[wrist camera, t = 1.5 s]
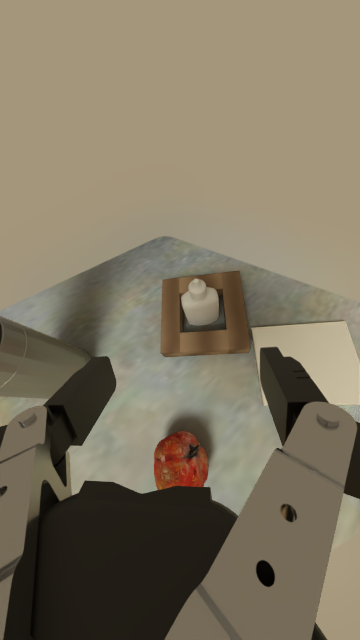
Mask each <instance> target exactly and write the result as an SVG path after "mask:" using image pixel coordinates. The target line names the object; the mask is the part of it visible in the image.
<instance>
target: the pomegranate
mask: <svg viewBox="0 0 360 640" xmlns="http://www.w3.org/2000/svg"><path fill="white" fill-rule="evenodd" d="M154 461H155V462H154V475H155V481H156V486H157V489H158V490H161V489H165V488H169V487H173V486H193V487H203V486H204V483H205V482H206V480H207V476H208V458H207V455H206V452H205V450H204V448H202V447H201V446H200V441H199V443H198V441H197V439H196V437H195V435H193V434H191V433H189V432H186V431H180V432H176V433H174V434H172V435H170V436H168V437H166V438H165V439H163V440H161V441H160V442H159V443H158V445H157V447H156V449H155V453H154Z"/></svg>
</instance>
